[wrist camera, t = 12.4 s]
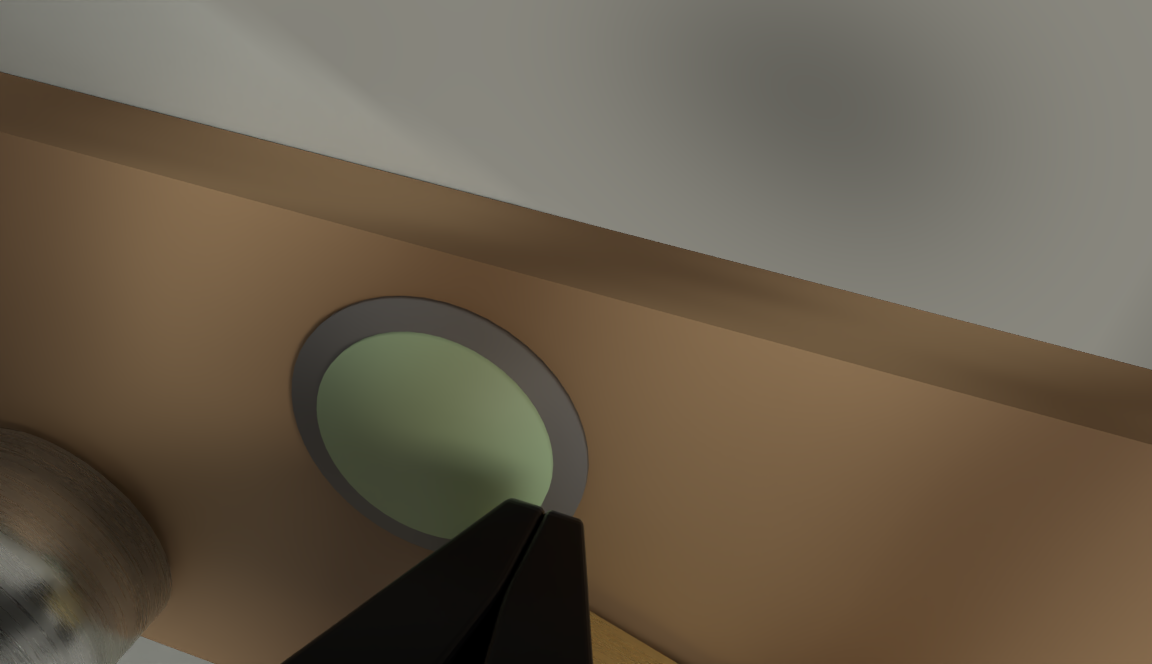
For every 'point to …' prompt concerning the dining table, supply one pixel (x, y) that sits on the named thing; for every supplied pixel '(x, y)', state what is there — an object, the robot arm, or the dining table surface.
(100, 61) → the dining table surface
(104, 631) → the steel lever handle
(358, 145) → the dining table surface
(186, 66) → the dining table surface
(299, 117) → the dining table surface
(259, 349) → the copper base
